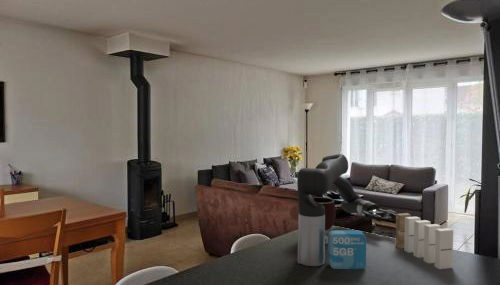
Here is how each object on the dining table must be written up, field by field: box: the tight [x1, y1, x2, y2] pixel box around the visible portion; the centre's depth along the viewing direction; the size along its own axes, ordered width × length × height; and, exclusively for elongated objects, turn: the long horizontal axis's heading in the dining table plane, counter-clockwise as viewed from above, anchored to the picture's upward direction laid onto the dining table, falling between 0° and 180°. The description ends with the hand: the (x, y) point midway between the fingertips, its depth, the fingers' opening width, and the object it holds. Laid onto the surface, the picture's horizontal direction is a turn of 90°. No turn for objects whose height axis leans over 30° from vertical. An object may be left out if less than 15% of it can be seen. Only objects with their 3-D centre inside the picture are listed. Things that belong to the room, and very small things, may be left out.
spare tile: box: [395, 212, 412, 249], centre depth 148 cm, size 2×5×13 cm, turn 104°
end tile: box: [434, 227, 454, 270], centre depth 127 cm, size 2×5×13 cm, turn 103°
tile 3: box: [413, 219, 431, 259], centre depth 138 cm, size 2×5×13 cm, turn 103°
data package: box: [327, 229, 367, 270], centre depth 128 cm, size 12×4×12 cm, turn 88°
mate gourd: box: [309, 195, 337, 246], centre depth 157 cm, size 16×14×20 cm
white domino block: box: [423, 223, 442, 264], centre depth 132 cm, size 2×5×13 cm, turn 103°
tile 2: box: [403, 216, 422, 254], centre depth 143 cm, size 2×5×13 cm, turn 103°
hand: (389, 218), depth 158 cm, fingers open, 7 cm apart
